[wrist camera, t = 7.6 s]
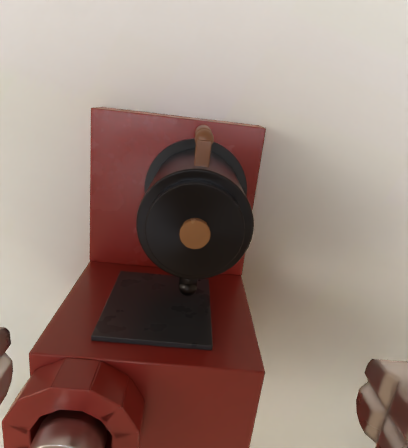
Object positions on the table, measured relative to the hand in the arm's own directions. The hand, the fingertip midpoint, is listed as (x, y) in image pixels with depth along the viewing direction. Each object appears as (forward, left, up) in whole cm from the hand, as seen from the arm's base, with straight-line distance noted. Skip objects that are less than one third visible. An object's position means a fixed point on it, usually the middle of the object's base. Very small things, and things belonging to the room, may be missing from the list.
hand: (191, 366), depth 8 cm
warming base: (+1, +1, -19) cm, 19 cm away
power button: (+5, +9, -5) cm, 11 cm away
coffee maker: (+1, +9, -19) cm, 21 cm away
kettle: (0, 0, -16) cm, 16 cm away
